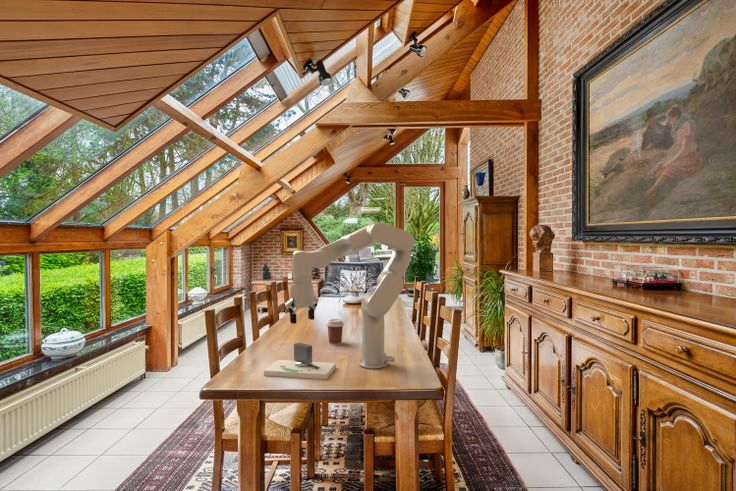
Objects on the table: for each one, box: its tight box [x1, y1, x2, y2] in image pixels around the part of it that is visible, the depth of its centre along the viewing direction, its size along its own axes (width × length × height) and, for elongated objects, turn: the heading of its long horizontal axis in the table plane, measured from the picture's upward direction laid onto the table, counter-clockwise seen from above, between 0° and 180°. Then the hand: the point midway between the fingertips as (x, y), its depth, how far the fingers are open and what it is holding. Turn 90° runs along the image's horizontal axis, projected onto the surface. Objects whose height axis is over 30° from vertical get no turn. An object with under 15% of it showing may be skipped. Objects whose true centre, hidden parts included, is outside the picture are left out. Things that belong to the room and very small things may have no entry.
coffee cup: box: [325, 318, 345, 346], centre depth 209 cm, size 9×9×12 cm
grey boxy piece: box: [293, 342, 319, 368], centre depth 167 cm, size 14×7×8 cm, turn 50°
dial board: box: [263, 359, 337, 380], centre depth 166 cm, size 26×14×2 cm, turn 80°
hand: (302, 321), depth 169 cm, fingers open, 9 cm apart
